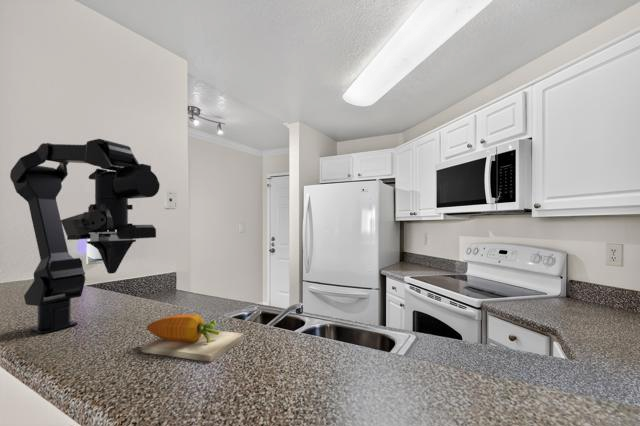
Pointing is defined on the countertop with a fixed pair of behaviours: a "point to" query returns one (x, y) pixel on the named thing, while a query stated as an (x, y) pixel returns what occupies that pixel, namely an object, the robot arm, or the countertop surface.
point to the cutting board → (195, 346)
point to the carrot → (182, 328)
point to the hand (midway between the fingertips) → (111, 273)
